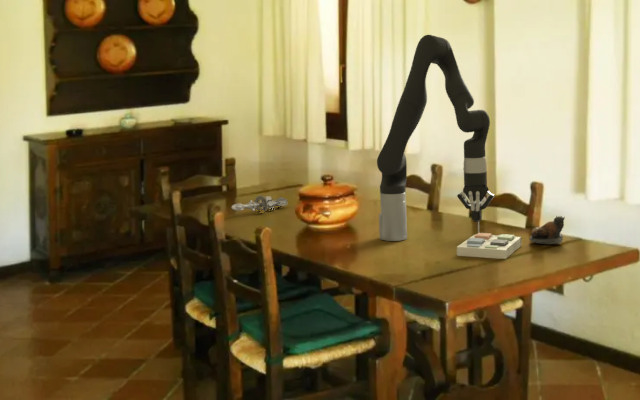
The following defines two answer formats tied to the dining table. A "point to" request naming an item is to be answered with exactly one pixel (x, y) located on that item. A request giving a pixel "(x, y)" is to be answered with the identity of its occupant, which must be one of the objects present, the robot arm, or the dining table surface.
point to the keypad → (488, 248)
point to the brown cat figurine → (549, 232)
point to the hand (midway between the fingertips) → (476, 221)
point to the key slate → (476, 241)
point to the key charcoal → (499, 242)
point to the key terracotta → (483, 235)
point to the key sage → (505, 237)
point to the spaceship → (261, 204)
